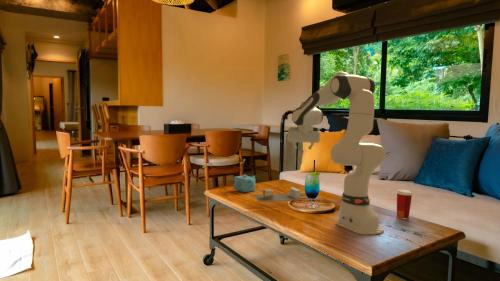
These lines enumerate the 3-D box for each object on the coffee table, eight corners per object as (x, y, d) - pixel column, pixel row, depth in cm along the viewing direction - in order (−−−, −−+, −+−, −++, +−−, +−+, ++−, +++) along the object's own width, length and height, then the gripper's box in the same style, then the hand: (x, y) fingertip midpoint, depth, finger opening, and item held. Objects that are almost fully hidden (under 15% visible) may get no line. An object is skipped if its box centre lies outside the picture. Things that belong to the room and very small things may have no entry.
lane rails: (320, 200, 202) (320, 198, 201) (257, 203, 190) (257, 201, 190) (309, 194, 215) (309, 193, 215) (250, 197, 203) (250, 195, 203)
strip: (300, 200, 200) (301, 190, 199) (259, 202, 192) (260, 192, 191) (293, 196, 210) (293, 186, 210) (253, 197, 202) (254, 188, 202)
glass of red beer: (409, 216, 175) (411, 190, 174) (412, 220, 168) (414, 193, 167) (393, 214, 177) (395, 188, 176) (395, 218, 170) (397, 191, 169)
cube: (273, 198, 198) (273, 190, 197) (265, 199, 196) (265, 190, 196) (270, 196, 202) (270, 188, 202) (262, 197, 201) (262, 189, 200)
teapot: (226, 191, 217) (227, 174, 216) (247, 188, 229) (248, 171, 228) (242, 196, 205) (243, 178, 204) (263, 192, 217) (264, 175, 216)
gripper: (289, 127, 201) (287, 149, 204) (322, 128, 204) (319, 150, 207) (287, 125, 207) (285, 147, 210) (318, 127, 210) (316, 148, 214)
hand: (302, 149), depth 209 cm, fingers open, 8 cm apart
